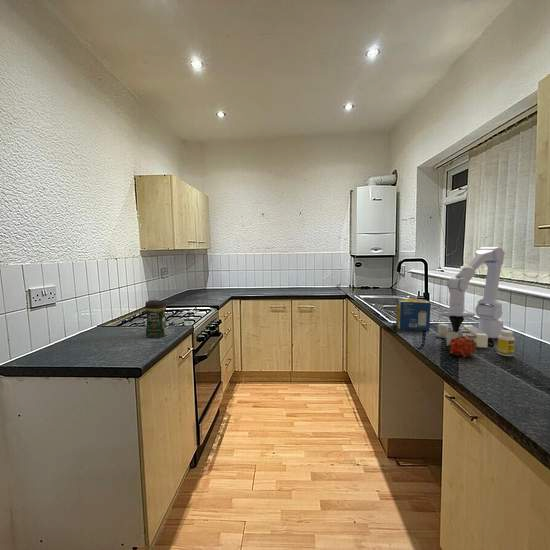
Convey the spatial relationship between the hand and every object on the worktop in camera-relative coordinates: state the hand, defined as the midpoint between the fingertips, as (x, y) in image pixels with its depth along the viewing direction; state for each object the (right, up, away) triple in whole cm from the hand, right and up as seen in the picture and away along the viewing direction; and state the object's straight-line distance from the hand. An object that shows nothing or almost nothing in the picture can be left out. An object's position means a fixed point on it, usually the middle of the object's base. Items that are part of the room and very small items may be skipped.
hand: (455, 332), depth 144 cm
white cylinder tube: (-1, -4, +8) cm, 9 cm away
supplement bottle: (+10, -6, -18) cm, 21 cm away
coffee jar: (-145, -5, +13) cm, 146 cm away
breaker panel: (+7, -4, +1) cm, 9 cm away
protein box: (-9, -3, +25) cm, 27 cm away
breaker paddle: (+6, -3, -1) cm, 6 cm away
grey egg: (-5, -5, -6) cm, 9 cm away
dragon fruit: (-9, -6, -19) cm, 22 cm away
